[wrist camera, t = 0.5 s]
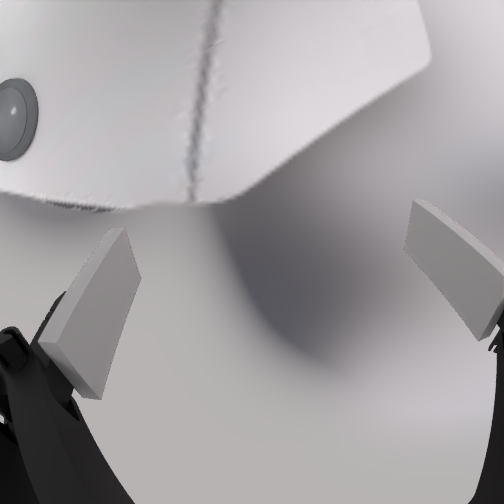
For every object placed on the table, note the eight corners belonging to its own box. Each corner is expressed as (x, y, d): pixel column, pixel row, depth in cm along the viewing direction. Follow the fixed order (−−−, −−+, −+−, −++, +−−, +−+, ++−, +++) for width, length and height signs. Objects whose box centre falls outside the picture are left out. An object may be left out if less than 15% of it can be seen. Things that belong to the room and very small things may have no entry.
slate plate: (-18, 101, 24) (-23, 102, 23) (32, 63, 24) (27, 63, 23) (-5, 169, 31) (-10, 172, 30) (45, 142, 31) (40, 143, 30)
